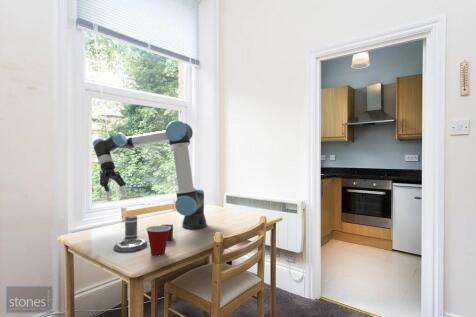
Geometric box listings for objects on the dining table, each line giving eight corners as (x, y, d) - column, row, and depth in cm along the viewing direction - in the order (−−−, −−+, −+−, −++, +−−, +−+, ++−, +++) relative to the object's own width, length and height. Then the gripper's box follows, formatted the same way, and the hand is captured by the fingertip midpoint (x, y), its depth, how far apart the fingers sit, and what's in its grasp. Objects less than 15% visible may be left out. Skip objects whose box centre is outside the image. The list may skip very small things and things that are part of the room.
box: (161, 238, 139) (161, 224, 139) (173, 237, 139) (173, 224, 139) (159, 241, 133) (159, 227, 133) (171, 241, 133) (171, 227, 133)
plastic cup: (175, 250, 120) (175, 225, 120) (161, 259, 110) (161, 231, 110) (155, 247, 124) (156, 223, 124) (140, 256, 114) (140, 229, 114)
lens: (139, 235, 142) (139, 215, 142) (134, 239, 136) (134, 218, 136) (127, 235, 143) (128, 215, 142) (122, 239, 136) (122, 218, 136)
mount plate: (151, 241, 133) (151, 237, 133) (140, 252, 118) (140, 248, 118) (122, 241, 133) (122, 237, 133) (107, 252, 118) (107, 247, 118)
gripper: (114, 168, 166) (125, 198, 162) (85, 163, 141) (97, 199, 137) (124, 163, 165) (135, 193, 161) (97, 157, 141) (109, 193, 136)
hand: (118, 196), depth 149 cm, fingers open, 13 cm apart
